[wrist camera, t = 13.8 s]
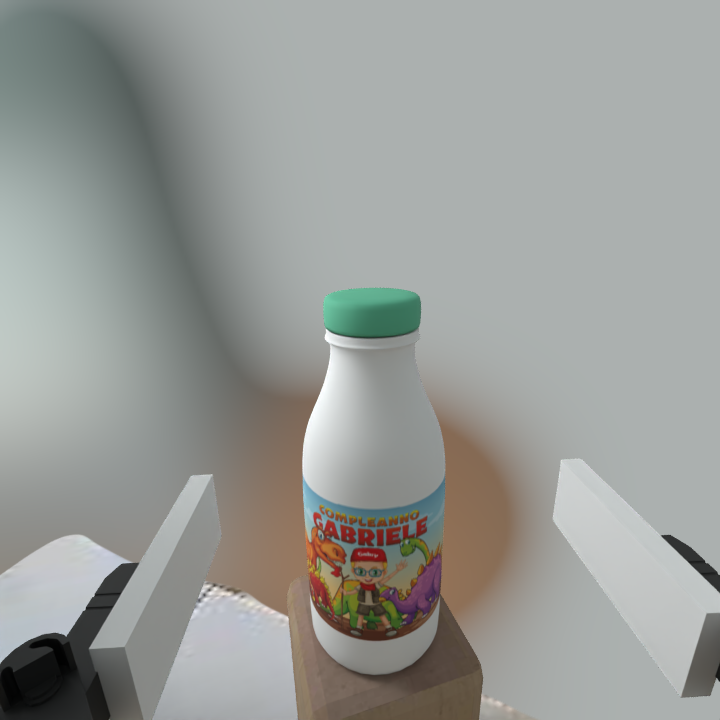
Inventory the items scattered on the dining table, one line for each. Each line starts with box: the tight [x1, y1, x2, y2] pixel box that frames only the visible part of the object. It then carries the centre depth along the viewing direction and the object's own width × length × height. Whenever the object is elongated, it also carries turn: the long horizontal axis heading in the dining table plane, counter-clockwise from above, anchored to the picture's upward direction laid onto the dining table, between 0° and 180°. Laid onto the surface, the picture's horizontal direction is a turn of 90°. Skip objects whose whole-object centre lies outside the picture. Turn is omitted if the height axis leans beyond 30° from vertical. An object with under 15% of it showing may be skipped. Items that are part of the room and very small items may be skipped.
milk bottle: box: [303, 288, 445, 675], centre depth 23 cm, size 8×8×20 cm
